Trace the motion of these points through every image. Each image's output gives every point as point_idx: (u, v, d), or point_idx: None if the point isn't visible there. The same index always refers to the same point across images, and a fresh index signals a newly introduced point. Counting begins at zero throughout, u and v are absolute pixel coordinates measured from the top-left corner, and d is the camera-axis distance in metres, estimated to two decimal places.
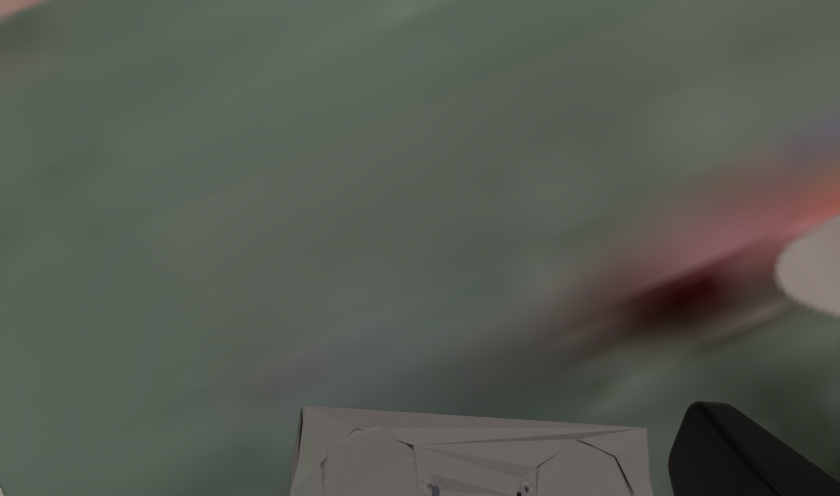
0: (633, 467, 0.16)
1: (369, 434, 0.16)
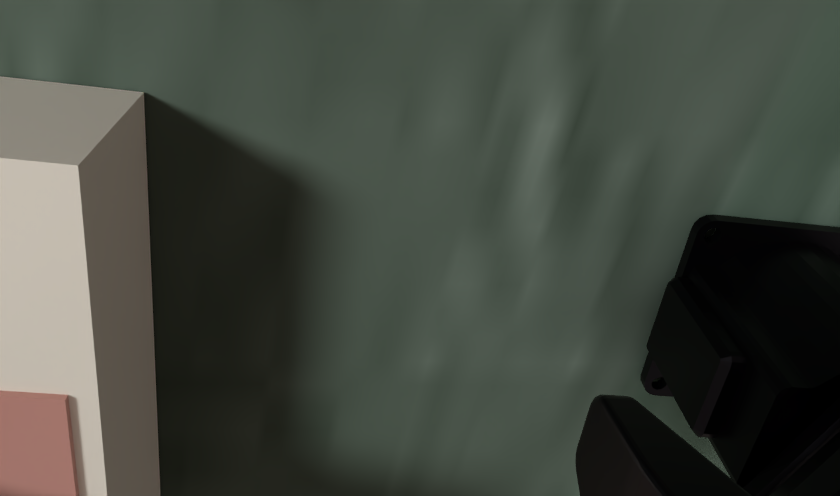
0: None
1: None
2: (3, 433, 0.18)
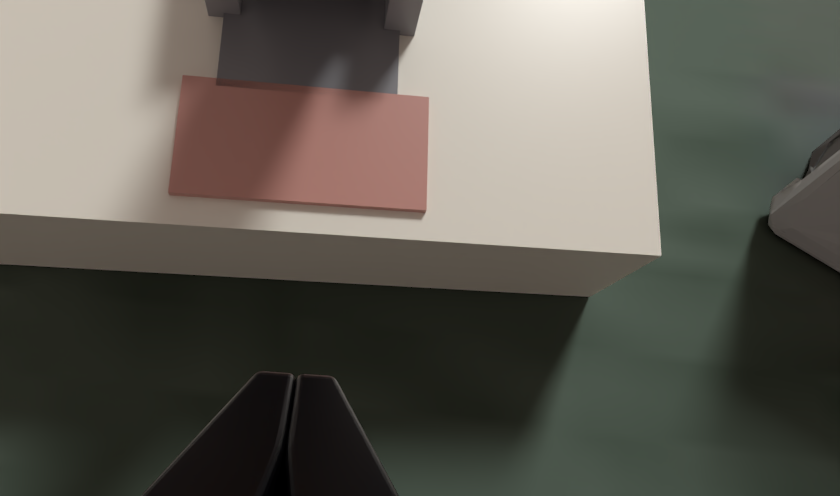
0: None
1: None
2: (380, 148, 0.18)
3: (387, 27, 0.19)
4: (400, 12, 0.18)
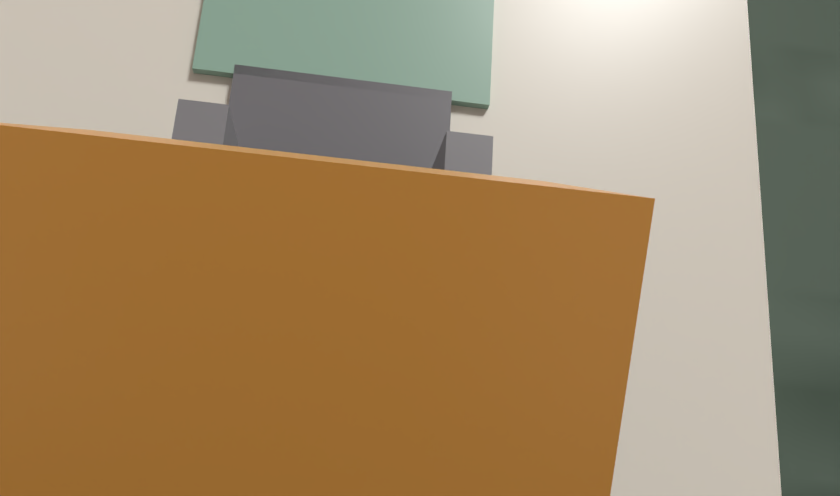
0: None
1: None
2: None
3: None
4: None
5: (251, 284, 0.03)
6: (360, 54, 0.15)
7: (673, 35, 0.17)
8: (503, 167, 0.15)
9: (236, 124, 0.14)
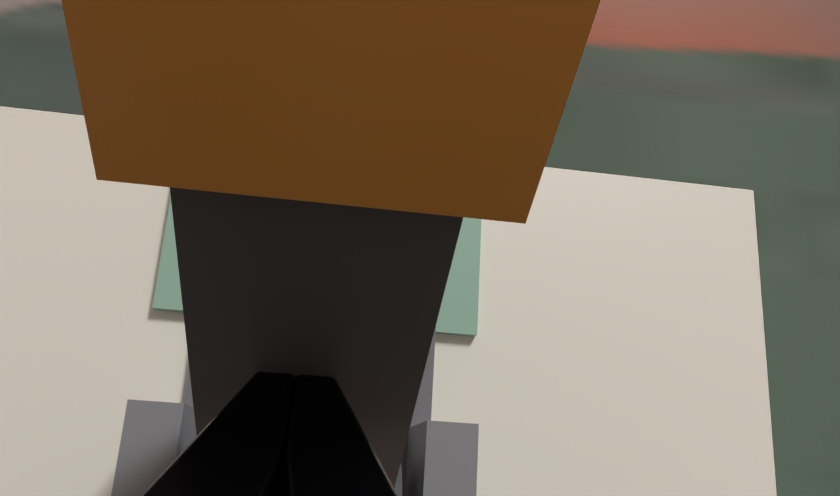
0: None
1: None
2: None
3: None
4: None
5: None
6: None
7: (675, 240, 0.15)
8: (492, 404, 0.14)
9: None
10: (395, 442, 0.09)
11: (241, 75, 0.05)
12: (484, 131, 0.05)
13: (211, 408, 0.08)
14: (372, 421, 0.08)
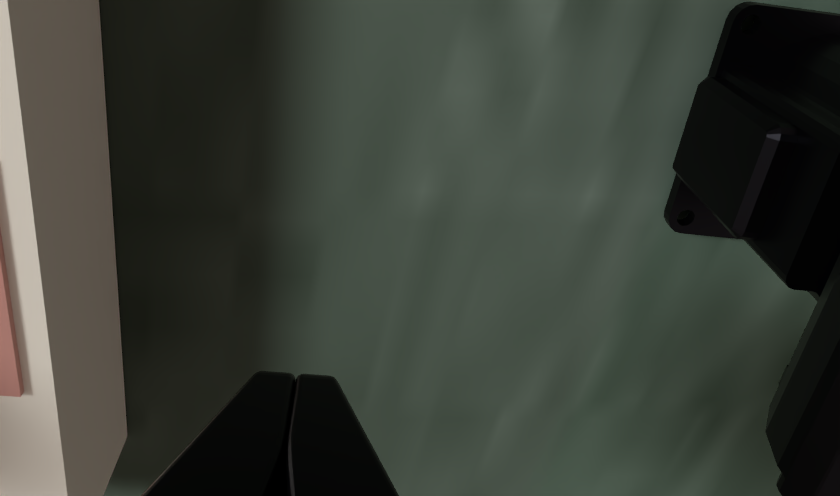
0: None
1: None
2: None
3: None
4: None
5: None
6: None
7: None
8: None
9: None
10: None
11: None
12: None
13: None
14: None
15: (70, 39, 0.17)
